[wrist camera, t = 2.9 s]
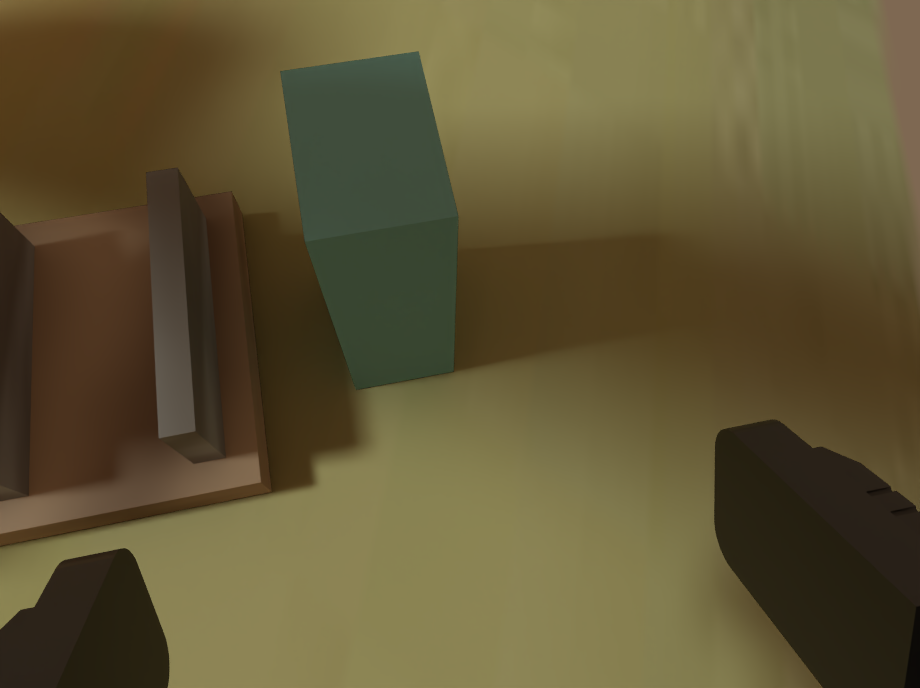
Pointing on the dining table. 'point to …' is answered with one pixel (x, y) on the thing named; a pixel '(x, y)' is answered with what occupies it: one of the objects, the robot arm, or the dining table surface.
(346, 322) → the teal block
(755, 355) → the dining table surface
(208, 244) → the book rack
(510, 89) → the dining table surface
